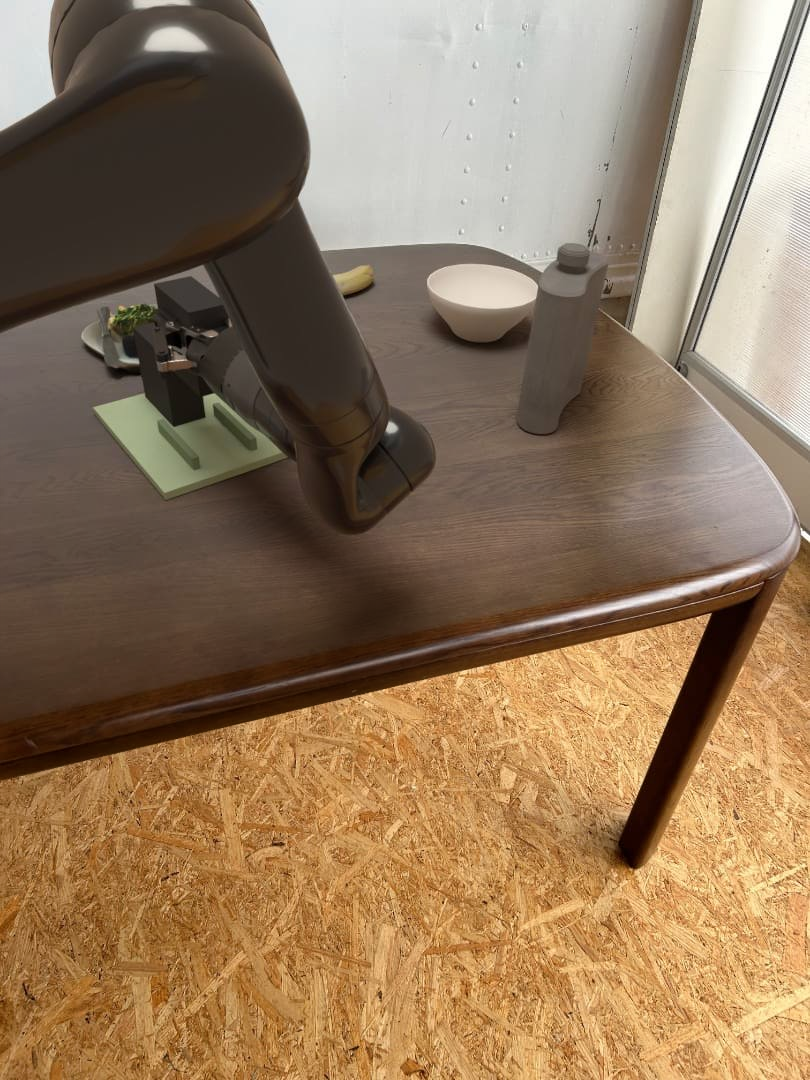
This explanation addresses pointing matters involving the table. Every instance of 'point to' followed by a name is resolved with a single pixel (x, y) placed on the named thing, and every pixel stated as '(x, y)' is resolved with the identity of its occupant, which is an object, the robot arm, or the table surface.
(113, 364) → the salad plate
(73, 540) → the table surface
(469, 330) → the bowl
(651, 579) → the table surface
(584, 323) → the flask
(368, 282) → the fruit
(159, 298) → the tall dark upright box
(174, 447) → the dock mat
